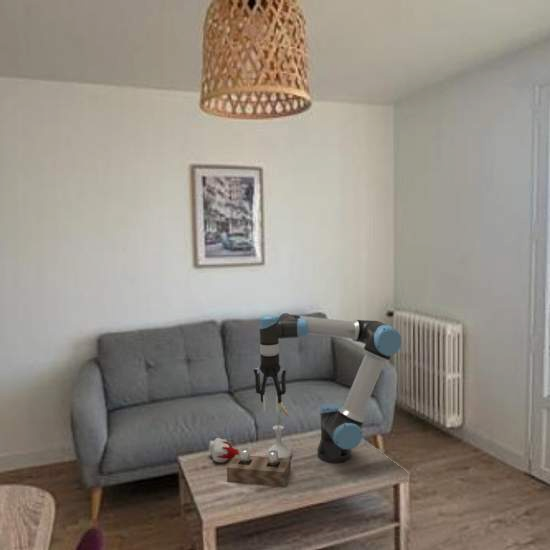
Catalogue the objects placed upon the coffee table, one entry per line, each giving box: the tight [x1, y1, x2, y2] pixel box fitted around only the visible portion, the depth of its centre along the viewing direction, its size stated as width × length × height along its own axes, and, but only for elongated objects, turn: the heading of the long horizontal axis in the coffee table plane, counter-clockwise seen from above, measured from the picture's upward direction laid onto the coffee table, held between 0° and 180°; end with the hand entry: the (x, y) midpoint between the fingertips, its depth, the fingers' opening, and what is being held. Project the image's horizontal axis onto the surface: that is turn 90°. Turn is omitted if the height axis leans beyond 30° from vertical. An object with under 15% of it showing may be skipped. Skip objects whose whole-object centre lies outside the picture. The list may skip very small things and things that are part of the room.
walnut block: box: [226, 454, 292, 488], centre depth 207 cm, size 24×12×6 cm, turn 77°
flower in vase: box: [266, 402, 293, 459], centre depth 224 cm, size 13×11×25 cm
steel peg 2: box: [267, 450, 278, 467], centre depth 205 cm, size 4×4×6 cm
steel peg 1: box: [239, 447, 251, 465], centre depth 208 cm, size 4×4×6 cm
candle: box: [208, 437, 240, 464], centre depth 223 cm, size 9×11×15 cm
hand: (271, 410), depth 203 cm, fingers open, 4 cm apart
